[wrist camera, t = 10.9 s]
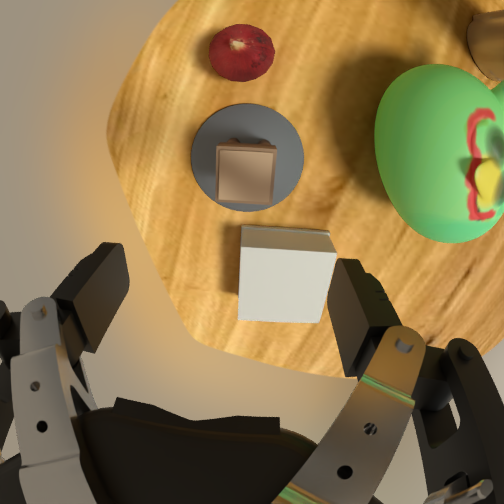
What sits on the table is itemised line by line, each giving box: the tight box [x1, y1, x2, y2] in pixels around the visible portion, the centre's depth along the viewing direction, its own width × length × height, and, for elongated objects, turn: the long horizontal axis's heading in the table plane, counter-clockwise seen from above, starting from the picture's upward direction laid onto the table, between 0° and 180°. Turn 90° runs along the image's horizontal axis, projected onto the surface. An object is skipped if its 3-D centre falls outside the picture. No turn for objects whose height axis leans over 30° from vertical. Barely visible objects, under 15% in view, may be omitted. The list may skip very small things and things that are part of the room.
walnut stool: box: [215, 138, 277, 205], centre depth 26 cm, size 5×5×7 cm
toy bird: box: [374, 64, 504, 243], centre depth 21 cm, size 18×17×15 cm
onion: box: [209, 24, 275, 82], centre depth 20 cm, size 6×6×8 cm
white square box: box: [238, 225, 337, 323], centre depth 33 cm, size 10×10×5 cm
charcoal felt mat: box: [191, 104, 304, 212], centre depth 29 cm, size 12×12×1 cm
